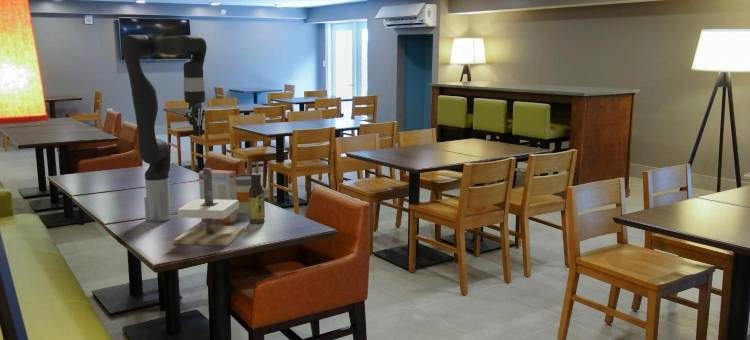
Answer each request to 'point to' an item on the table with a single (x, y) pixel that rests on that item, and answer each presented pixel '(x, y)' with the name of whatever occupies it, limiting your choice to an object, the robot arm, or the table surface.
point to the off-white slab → (208, 209)
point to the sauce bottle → (256, 200)
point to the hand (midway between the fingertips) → (196, 135)
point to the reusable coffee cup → (243, 192)
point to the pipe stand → (209, 224)
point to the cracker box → (221, 190)
